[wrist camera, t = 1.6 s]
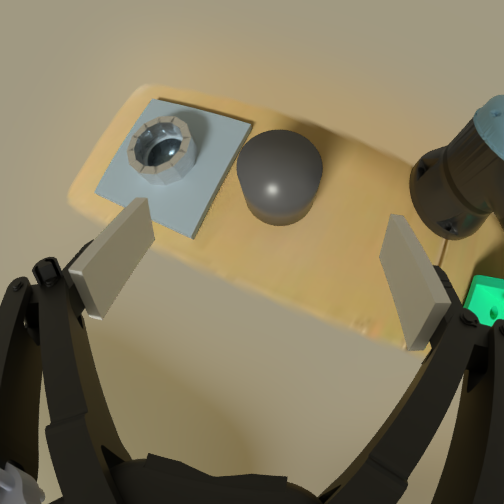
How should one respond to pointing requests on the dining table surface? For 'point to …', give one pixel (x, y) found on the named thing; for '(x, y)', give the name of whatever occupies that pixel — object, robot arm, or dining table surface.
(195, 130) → the board
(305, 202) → the dome-topped grey cylinder
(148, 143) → the pale grey faceted ring
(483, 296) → the camera mount
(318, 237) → the dining table surface
